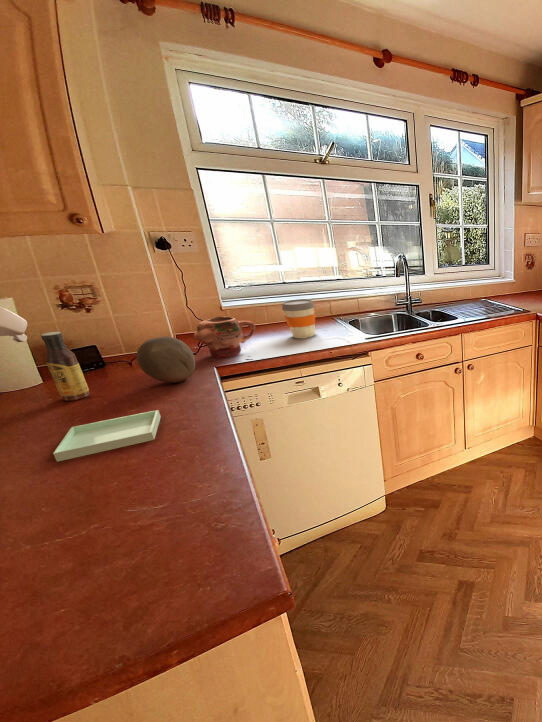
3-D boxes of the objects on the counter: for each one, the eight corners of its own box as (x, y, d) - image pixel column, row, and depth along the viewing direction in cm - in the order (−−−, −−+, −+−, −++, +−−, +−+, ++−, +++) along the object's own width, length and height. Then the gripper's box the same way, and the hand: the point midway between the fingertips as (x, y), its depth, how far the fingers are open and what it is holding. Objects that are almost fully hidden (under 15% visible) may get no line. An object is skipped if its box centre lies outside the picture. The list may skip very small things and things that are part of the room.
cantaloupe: (199, 371, 146) (186, 329, 140) (201, 383, 135) (187, 338, 130) (147, 381, 138) (131, 336, 133) (145, 394, 128) (127, 346, 122)
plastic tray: (56, 461, 93) (52, 453, 92) (74, 434, 104) (71, 427, 104) (154, 439, 101) (151, 432, 100) (160, 416, 113) (158, 409, 112)
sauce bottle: (57, 400, 124) (27, 335, 117) (83, 392, 130) (55, 329, 122) (71, 403, 122) (42, 337, 115) (97, 394, 128) (70, 331, 120)
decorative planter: (255, 345, 175) (247, 311, 170) (264, 351, 167) (255, 316, 162) (198, 355, 163) (187, 320, 158) (204, 363, 154) (192, 325, 149)
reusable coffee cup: (293, 332, 193) (286, 299, 187) (322, 330, 195) (316, 298, 189) (284, 340, 182) (276, 305, 176) (315, 338, 184) (308, 303, 178)
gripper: (-121, 325, 92) (-49, 354, 105) (-16, 320, 94) (42, 349, 107) (-108, 300, 95) (-39, 332, 107) (-6, 296, 97) (50, 327, 109)
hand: (3, 340), depth 107 cm, fingers open, 8 cm apart
